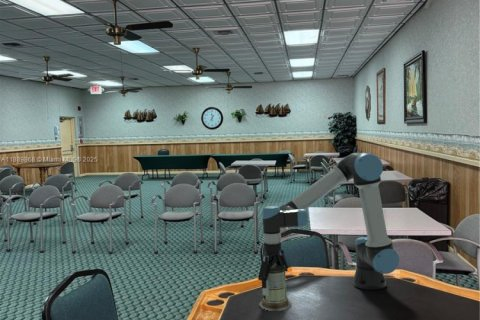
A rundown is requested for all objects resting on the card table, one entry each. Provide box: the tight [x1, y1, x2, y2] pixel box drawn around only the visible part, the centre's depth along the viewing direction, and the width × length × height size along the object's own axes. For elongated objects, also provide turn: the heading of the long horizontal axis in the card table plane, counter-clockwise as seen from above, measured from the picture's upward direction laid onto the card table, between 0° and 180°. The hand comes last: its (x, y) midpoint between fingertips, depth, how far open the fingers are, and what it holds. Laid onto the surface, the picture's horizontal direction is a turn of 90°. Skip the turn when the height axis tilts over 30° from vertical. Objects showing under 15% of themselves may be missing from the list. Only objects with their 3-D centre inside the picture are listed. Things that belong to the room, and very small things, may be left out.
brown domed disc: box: [258, 297, 292, 312], centre depth 191 cm, size 14×14×3 cm
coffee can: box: [262, 263, 288, 303], centre depth 190 cm, size 10×10×14 cm
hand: (274, 290), depth 190 cm, fingers open, 13 cm apart
